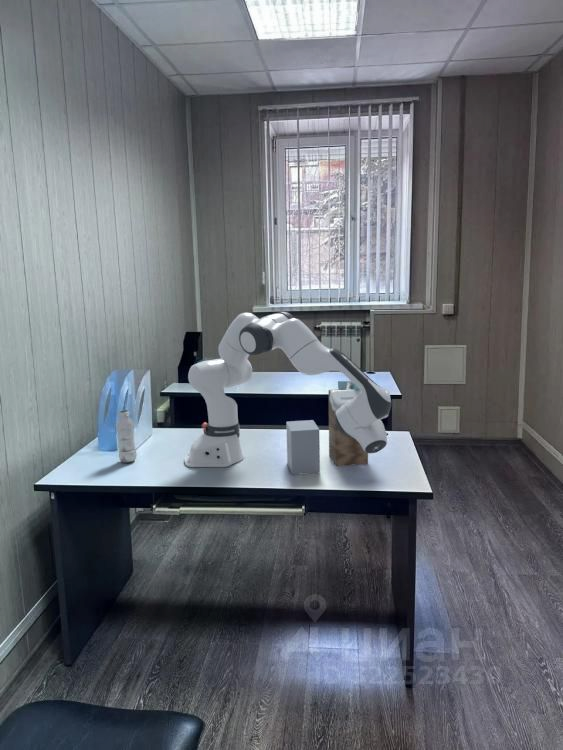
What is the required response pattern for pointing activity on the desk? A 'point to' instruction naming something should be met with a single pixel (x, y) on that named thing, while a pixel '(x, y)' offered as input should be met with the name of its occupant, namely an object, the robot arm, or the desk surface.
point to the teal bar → (344, 385)
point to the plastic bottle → (126, 437)
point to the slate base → (303, 447)
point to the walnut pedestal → (343, 445)
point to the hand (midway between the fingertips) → (355, 383)
